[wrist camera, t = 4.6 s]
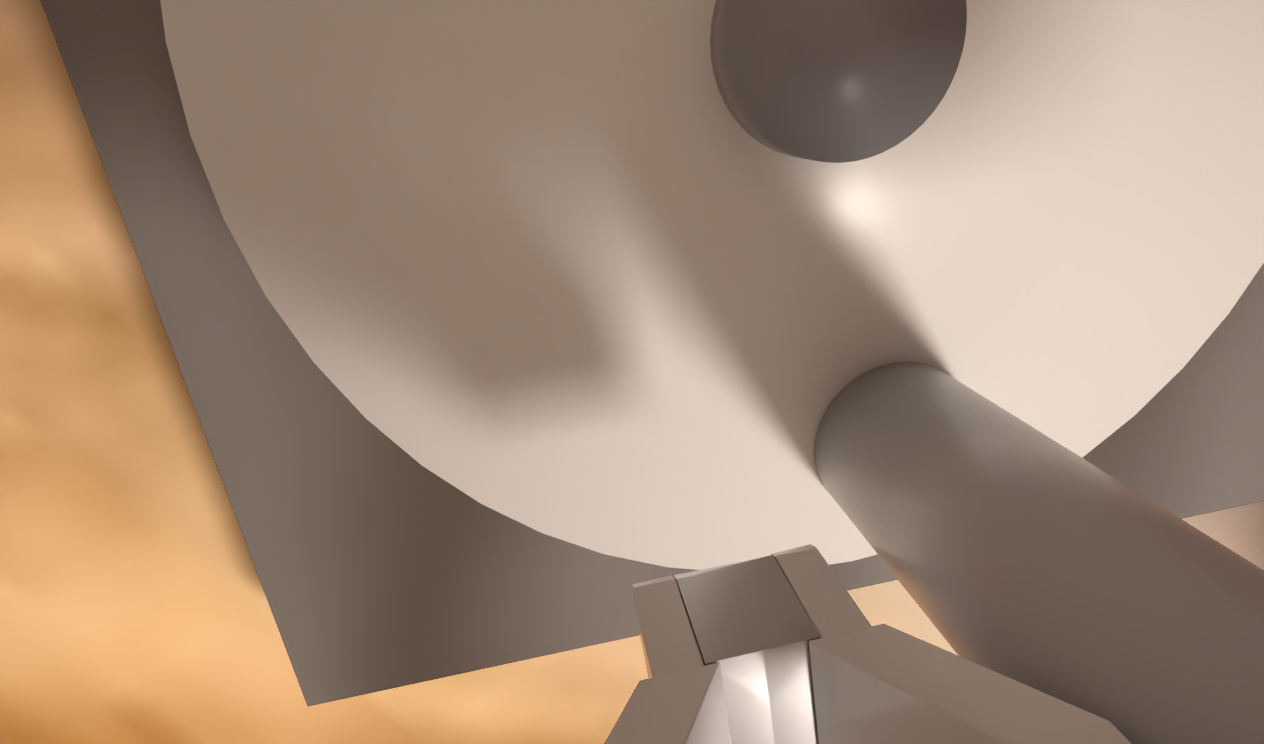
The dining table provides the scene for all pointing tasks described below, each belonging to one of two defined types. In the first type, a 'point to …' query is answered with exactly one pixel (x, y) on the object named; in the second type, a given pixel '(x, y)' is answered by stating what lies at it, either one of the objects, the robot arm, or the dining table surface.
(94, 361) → the dining table surface
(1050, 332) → the dial
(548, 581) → the dial base
